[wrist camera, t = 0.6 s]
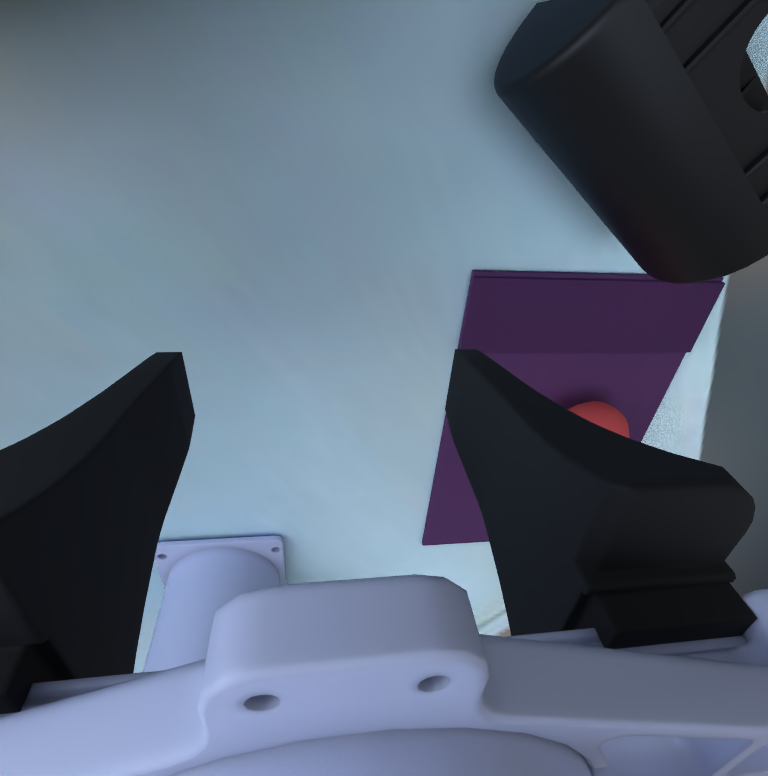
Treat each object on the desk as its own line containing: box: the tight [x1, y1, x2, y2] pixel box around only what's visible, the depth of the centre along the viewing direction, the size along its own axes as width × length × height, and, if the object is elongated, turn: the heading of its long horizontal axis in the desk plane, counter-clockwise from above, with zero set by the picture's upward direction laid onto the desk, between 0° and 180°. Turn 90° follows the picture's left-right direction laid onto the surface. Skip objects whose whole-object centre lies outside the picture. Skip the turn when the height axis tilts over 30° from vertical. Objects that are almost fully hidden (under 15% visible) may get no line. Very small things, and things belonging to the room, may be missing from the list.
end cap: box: [494, 0, 768, 284], centre depth 16 cm, size 10×7×7 cm
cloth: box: [422, 270, 725, 545], centre depth 28 cm, size 20×13×1 cm, turn 176°
